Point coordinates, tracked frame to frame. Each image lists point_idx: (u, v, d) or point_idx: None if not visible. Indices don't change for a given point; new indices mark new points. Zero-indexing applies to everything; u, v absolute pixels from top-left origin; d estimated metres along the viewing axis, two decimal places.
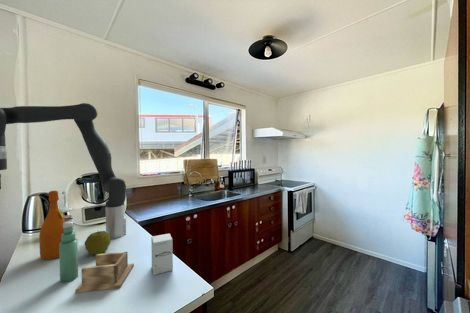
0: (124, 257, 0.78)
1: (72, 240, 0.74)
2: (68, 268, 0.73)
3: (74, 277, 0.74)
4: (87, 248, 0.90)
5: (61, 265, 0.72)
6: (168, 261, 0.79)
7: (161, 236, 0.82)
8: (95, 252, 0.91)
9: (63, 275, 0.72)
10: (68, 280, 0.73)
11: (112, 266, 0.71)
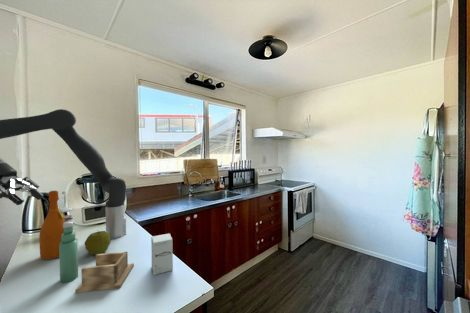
0: (124, 257, 0.78)
1: (72, 240, 0.74)
2: (68, 268, 0.73)
3: (74, 277, 0.74)
4: (87, 248, 0.90)
5: (61, 265, 0.72)
6: (168, 261, 0.79)
7: (161, 236, 0.82)
8: (95, 252, 0.91)
9: (63, 275, 0.72)
10: (68, 280, 0.73)
11: (112, 266, 0.71)
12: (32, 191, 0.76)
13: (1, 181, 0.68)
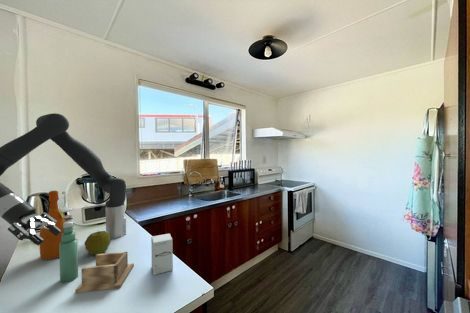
0: (124, 257, 0.78)
1: (72, 240, 0.74)
2: (68, 268, 0.73)
3: (74, 277, 0.74)
4: (87, 248, 0.90)
5: (61, 265, 0.72)
6: (168, 261, 0.79)
7: (161, 236, 0.82)
8: (95, 252, 0.91)
9: (63, 275, 0.72)
10: (68, 280, 0.73)
11: (112, 266, 0.71)
12: (50, 227, 0.77)
13: (22, 222, 0.69)
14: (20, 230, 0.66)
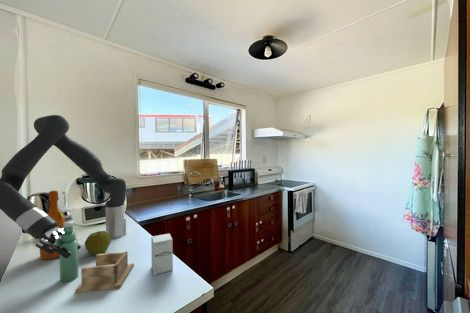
0: (124, 257, 0.78)
1: (72, 240, 0.74)
2: (68, 268, 0.73)
3: (74, 277, 0.74)
4: (87, 248, 0.90)
5: (61, 265, 0.72)
6: (168, 261, 0.79)
7: (161, 236, 0.82)
8: (95, 252, 0.91)
9: (63, 275, 0.72)
10: (68, 280, 0.73)
11: (112, 266, 0.71)
12: None
13: (46, 236, 0.70)
14: (49, 245, 0.69)
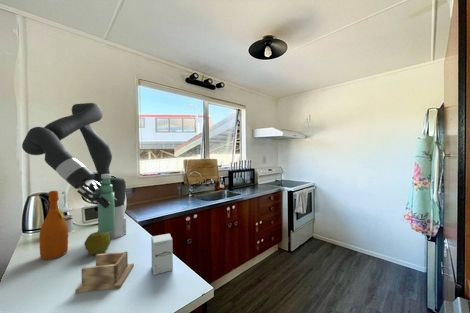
0: (124, 257, 0.78)
1: (110, 191, 0.74)
2: (106, 218, 0.73)
3: (112, 228, 0.74)
4: (87, 248, 0.90)
5: (100, 215, 0.72)
6: (168, 261, 0.79)
7: (161, 236, 0.82)
8: (95, 252, 0.91)
9: (102, 225, 0.72)
10: (107, 230, 0.73)
11: (112, 266, 0.71)
12: None
13: (86, 185, 0.70)
14: (90, 192, 0.68)
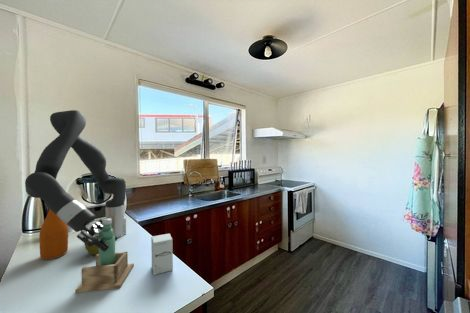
0: (124, 257, 0.78)
1: (111, 237, 0.74)
2: None
3: None
4: (87, 248, 0.90)
5: (101, 262, 0.72)
6: (168, 261, 0.79)
7: (161, 236, 0.82)
8: (95, 252, 0.91)
9: None
10: None
11: (112, 266, 0.71)
12: None
13: (87, 228, 0.70)
14: (89, 237, 0.68)
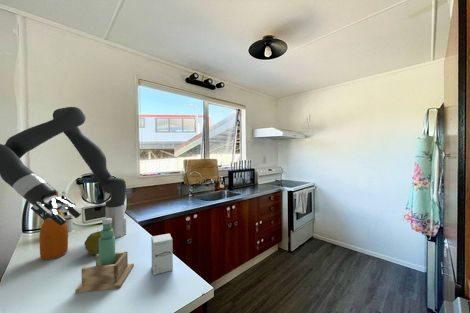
0: (124, 257, 0.78)
1: (111, 237, 0.75)
2: None
3: None
4: (87, 248, 0.90)
5: (101, 261, 0.73)
6: (168, 261, 0.79)
7: (161, 236, 0.82)
8: (95, 252, 0.91)
9: None
10: None
11: (112, 266, 0.71)
12: (70, 209, 0.76)
13: (44, 202, 0.68)
14: (43, 209, 0.65)
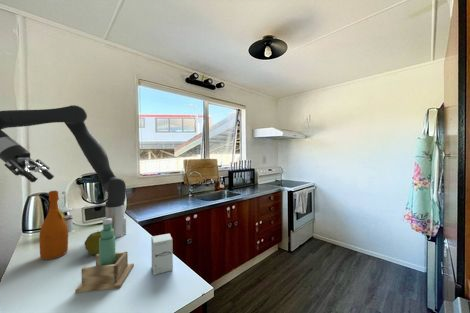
0: (124, 257, 0.78)
1: (111, 237, 0.74)
2: None
3: None
4: (87, 248, 0.90)
5: (101, 262, 0.72)
6: (168, 261, 0.79)
7: (161, 236, 0.82)
8: (95, 252, 0.91)
9: None
10: None
11: (112, 266, 0.71)
12: (44, 172, 0.84)
13: (17, 161, 0.76)
14: (15, 166, 0.73)
